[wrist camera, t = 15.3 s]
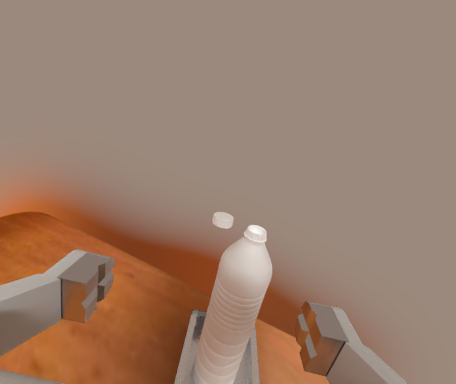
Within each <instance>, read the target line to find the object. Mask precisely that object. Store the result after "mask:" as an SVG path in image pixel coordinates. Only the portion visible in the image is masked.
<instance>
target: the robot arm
mask: <svg viewBox="0 0 456 384" xmlns="http://www.w3.org/2000/svg"><path fill="white" fill-rule="evenodd" d="M113 267H114V259H113V258H111V257H107V256H103V255H99V254H96V253H92V252H87V251H83V250H79V249H77V250H73V251H72V252H71V253H69V254H68V255H67V256H66V257H64V258H63V259H62V260H60V261H59V262H58V263H56V264H55V265H54V266H52V267H51V268H50V269H49V270H47V271H46V272H45V273H43V274H42V275H41V274H35V275H32V276H29V277H26V278H23V279H20V280H17V281H13V282H10V283H7V284H4V285H1V286H0V356H2V355H4V354H5V353H7V352H9V351H10V350H12V349H14V348H15V347H17V346H19V345H20V344H22V343H24V342H25V341H27V340H29V339H31V338H32V337H34V336H36V335H37V334H39V333H41V332H42V331H44V330H46V329H47V328H49V327H51V326H52V325H54V324H56V323H58V322H59V321H61V319H65V320H70V321H76V322H81V323H86V321H87V320H88V319H89V317H90V316H91V315H92V314H93V312H94V311H95V310H96V308H97V302H99V301H101V300H103V299H104V298H105V297H106V295H107V294H108V292H109V290H110V288H111V286H112V283H113V277H114V275H113V273H112V272H111V270H112V268H113ZM301 309H302V312H303V313H302V314H300V315H299V316H298V317H297V319H296V322H295V337H296V341H297V343H298V344H299V345H300V346H301V351H300V356H301V360H302V364H303V368H304V371H306V372H310V373H314V374H318V375H322V376H326V378H327V380H328V381H329V383H330V384H408V383H407V382H405V381H404V380H403V379H402V378H401V377H400V376H399V375H398V374H397V373H396V372H394V371H393V370H392V369H391V368H390V367H389V366H388V365H386V364H385V363H384V362H383V361H382V360H381V359H380V358H379V357H378V356H377V355H375V353H374V352H372V351H371V350H370V349H369V348H368V347H366V346H363V344H362V343H361V341H360V339H359V337H358V335H357V334H356V332H355V330H354V328H353V327H352V325H351V323H350V321H349V319H348V318H347V316H346V314H345V312H344V311H343V310H342V309H341V308H336V307H331V306H325V305H321V304H316V303H312V302H307V301H305V302H304V303H303V305H302V307H301ZM0 384H66V383H62V382H57V381H52V380H48V379H43V378H38V377H33V376H29V375H24V374H19V373H14V372H10V371H5V370H0Z"/></svg>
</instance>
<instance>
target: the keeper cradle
mask: <svg viewBox="0 0 456 384" xmlns="http://www.w3.org/2000/svg"><path fill="white" fill-rule="evenodd" d="M206 313H207V312H203V311H198V310H194V309H193V310H192V314H191V318H190V322H189V326H188V330H187V334H186V338H185V342H184V346H183V350H182V354H181V358H180V362H179V366H178V370H177V374H176V378H175V382H174V384H195V383H194V381H193V377H192V367H193V363H194V359H195V356H196V352H197V348H198V345H199V340H200V337H201V333H202V329H203V325H204V321H205V318H206ZM233 384H260V381H259V369H258V356H257V343H256V330H255V324H254V327H253V330H252V333H251V335H250V338H249V341H248V344H247V346H246V349H245V352H244V354H243V358H242V361H241V363H240V366H239V369H238V372H237V374H236V378H235V380H234V383H233Z"/></svg>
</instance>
